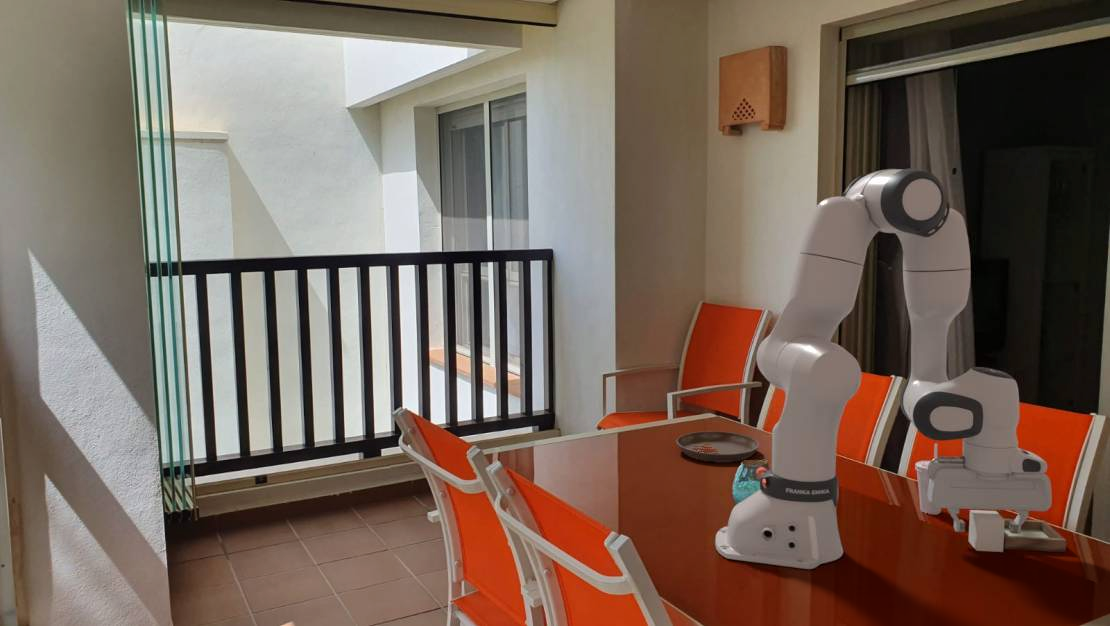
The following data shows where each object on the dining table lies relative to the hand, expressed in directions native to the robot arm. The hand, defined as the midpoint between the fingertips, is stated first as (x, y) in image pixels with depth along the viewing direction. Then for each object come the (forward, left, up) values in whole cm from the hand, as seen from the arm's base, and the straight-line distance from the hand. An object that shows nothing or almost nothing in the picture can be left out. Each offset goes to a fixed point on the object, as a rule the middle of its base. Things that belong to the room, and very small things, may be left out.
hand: (986, 531), depth 155 cm
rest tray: (+8, +4, -3) cm, 9 cm away
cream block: (0, 0, -3) cm, 3 cm away
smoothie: (-5, +18, -3) cm, 19 cm away
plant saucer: (-47, +56, -3) cm, 73 cm away
